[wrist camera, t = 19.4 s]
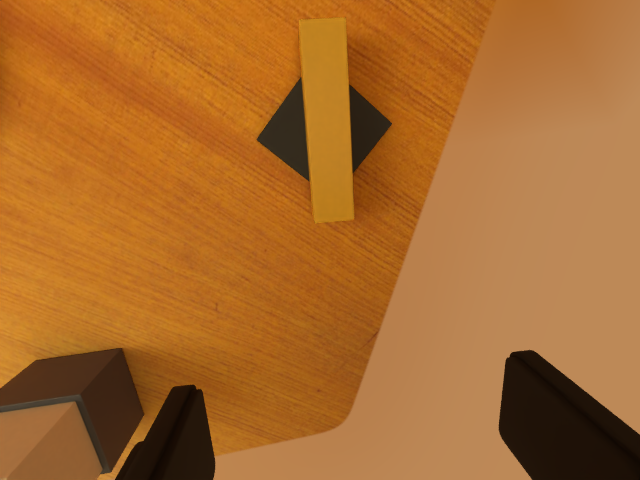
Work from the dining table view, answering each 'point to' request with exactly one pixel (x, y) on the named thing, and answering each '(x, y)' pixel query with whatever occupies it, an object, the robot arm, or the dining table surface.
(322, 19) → the bar
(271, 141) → the mat
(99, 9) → the dining table surface
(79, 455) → the tower
